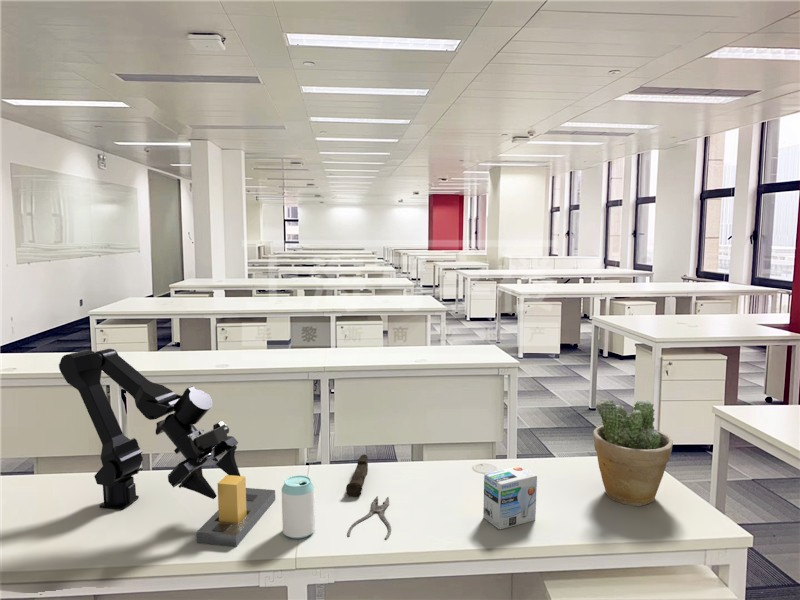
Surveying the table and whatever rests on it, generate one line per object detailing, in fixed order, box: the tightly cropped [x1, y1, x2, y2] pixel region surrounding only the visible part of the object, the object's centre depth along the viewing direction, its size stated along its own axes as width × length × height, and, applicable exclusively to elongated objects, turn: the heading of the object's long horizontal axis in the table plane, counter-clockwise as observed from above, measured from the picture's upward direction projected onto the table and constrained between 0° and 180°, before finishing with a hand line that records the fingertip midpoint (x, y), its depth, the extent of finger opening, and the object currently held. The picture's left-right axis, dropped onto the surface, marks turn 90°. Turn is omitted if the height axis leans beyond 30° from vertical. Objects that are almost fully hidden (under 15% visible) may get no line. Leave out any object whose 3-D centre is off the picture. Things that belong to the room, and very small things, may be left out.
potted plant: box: [592, 398, 674, 507], centre depth 147 cm, size 18×19×25 cm
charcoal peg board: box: [196, 487, 276, 548], centre depth 137 cm, size 9×22×3 cm, turn 170°
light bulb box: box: [482, 465, 538, 530], centre depth 137 cm, size 11×7×11 cm, turn 117°
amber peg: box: [217, 474, 247, 523], centre depth 133 cm, size 4×4×11 cm
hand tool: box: [345, 453, 369, 498], centre depth 157 cm, size 19×4×5 cm, turn 172°
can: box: [281, 474, 316, 540], centre depth 131 cm, size 7×7×12 cm
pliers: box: [346, 495, 392, 541], centre depth 138 cm, size 10×1×20 cm
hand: (228, 488), depth 133 cm, fingers open, 9 cm apart
